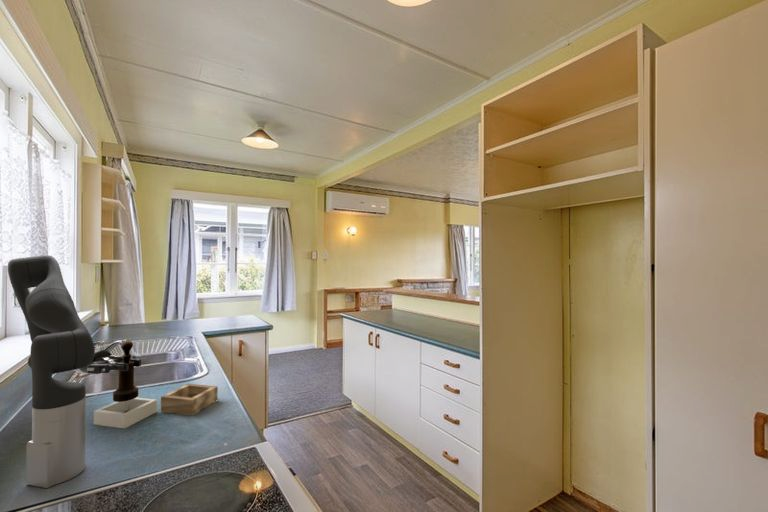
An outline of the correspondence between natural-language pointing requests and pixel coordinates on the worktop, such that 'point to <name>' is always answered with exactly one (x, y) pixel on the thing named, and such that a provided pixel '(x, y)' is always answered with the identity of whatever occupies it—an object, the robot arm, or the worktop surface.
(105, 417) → the tray
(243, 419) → the worktop surface
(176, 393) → the socket
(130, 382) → the dark pepper mill
